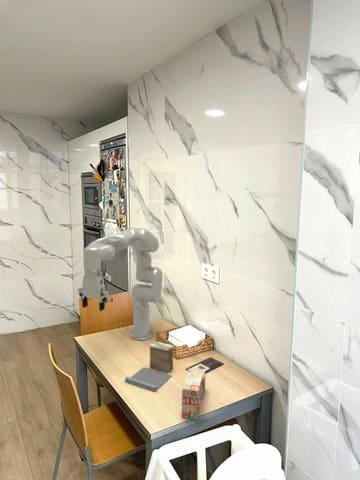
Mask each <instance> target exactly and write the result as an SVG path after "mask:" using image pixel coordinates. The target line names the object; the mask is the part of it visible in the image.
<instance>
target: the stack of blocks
mask: <svg viewBox="0 0 360 480" xmlns="http://www.w3.org/2000/svg"><path fill="white" fill-rule="evenodd" d="M181 390H182V391H181V392H182V393H181V396H182V397H181V418H182V419H188V420H195V421H198V419H199V415H200V411H201V409H202V404H203V403H202V402H203V399H204V397H205V396H204V395H205V392H206V374H205V370H202V369H193V368H192V369H191V372H189V371H188V373H187V374H186V379H185V381H184V383H183V386H182V389H181Z"/></svg>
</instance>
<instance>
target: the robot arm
mask: <svg viewBox="0 0 360 480" xmlns="http://www.w3.org/2000/svg"><path fill="white" fill-rule="evenodd" d="M159 242H160V241H159V240H158V238H157V237H156V236H155V235H154V234H153V233H152V232H151V231H150V230H148V229H146V228H143V227H128V228H126V229H124V230H122V231H121V232H119V233H117V234H113V235H109V236H105V237H103V238H101V237H100V238H99V239H96V240H94V241H92V242H90V243H88V245H87V246H86V247H84V249H83V267H84V272H83V273H84V275H83V276H82V285H81V287H80V288H78V289H77V293H78V295H79V297H80V300H81V304H82V308H83V309H85V308H87V307H88V306H89V303H88V302H89V298H93V299H98V301H99V305H98V306H99V307H98V309H99V312H102V311H103V310H105V308H106V303H105V302H106V301H107V300H108V298H109V296H110V293H109V291H107V290H106V288H105V287H106V286H105V281H104V277H103V273H104V272H103V271H102V264H101V263H102V261H110V260H112V259H113V258H114V257H115V255H116V252H117V251H124V250H125V249H127V248H128V247H130V246H131V249H132V250H133V251H134V253H135V255H136V268H135V279H136V281H137V282H141V283H139V284H135V285H133V287H132V288H131V299H132V303H133V305H132V306H133V307H132V308H133V314H132V317H133V319H132V320H133V321H132V322H133V323H132V324H133V327H132V328H133V331H132V332H131V333H130V338H131V339H133V340H136V341H145V340H149V339H150V338H152V337H153V332H151V330H152V329H153V328H154V327H153V325H150V315H151V314H150V311H151V310H150V304H149V303H153V304H157V303H158V302H160V300H161V296H162V289H163V288H162V287H163V278H164V277H163V272H162V269H161V268H159V267H156V266H152V255H151V253H155V252H157V251H158V250H159V248H160V243H159ZM142 283H147V284H142ZM150 284H151V285H150Z"/></svg>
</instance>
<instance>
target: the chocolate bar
mask: <svg viewBox="0 0 360 480" xmlns="http://www.w3.org/2000/svg"><path fill="white" fill-rule="evenodd" d="M223 365H225V364H224V362H221V361H220V360H217V359H215V358H214V357H208V358H205V359H204V360H201V361H200V362H197V363H195V364H193V365H191V366H189V367H186V368H185V370H186V371H188V372H189V373H190V372H191V369H192V368H193V369H202V370H205V375H206V374H208V373H210V372H213V371H214V370H215V369H218V368H220V367H222V366H223Z"/></svg>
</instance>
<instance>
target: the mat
mask: <svg viewBox="0 0 360 480" xmlns="http://www.w3.org/2000/svg"><path fill="white" fill-rule="evenodd" d="M172 377H173V375H171V374H169V373H168V374H167V373H164V372H161V371H157V370H154V369H150V368H147V367H145V366H143V367H142V368H141V369H139V370H138V371H137V372H136V373H134V374H133V375H132V376H131V377H130V376H126V377H124V382H125V383H126V384H130V385H132V386H135V387H138V388H141V389H145V390H147V391H151V392H153V393H156V392H157V391H158V390H160V389H161V388H162V386H164V384H165V383H167V382H168V380H170V379H171V378H172Z"/></svg>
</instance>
